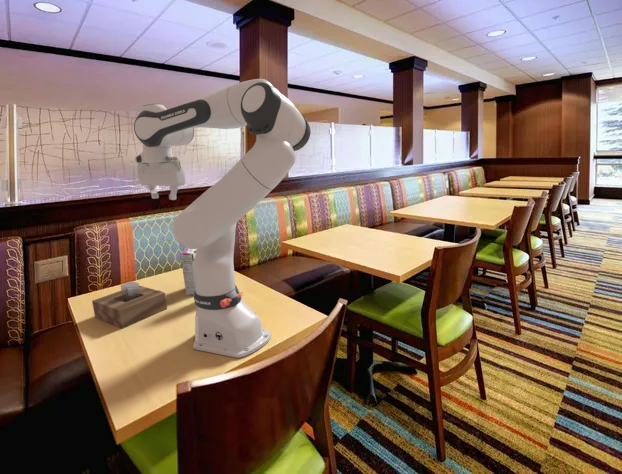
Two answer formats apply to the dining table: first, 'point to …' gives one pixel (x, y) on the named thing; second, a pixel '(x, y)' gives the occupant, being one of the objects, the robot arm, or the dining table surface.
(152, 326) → the dining table surface
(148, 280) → the dining table surface
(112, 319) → the post socket
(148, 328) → the dining table surface
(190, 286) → the candy bar box
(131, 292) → the peg
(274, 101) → the robot arm
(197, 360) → the dining table surface
